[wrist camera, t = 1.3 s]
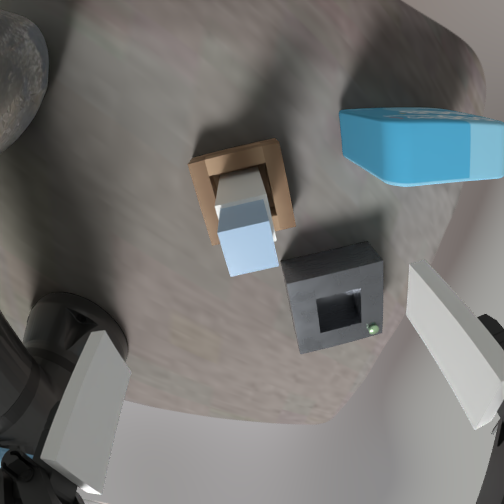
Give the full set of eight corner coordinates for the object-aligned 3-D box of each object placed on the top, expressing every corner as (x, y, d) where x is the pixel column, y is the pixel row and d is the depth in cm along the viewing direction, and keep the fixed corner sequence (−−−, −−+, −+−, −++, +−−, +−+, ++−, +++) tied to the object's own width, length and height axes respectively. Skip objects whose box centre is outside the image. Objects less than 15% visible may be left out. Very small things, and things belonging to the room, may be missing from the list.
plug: (229, 209, 31) (227, 281, 20) (220, 175, 30) (210, 229, 18) (265, 201, 31) (284, 268, 20) (257, 166, 30) (273, 214, 18)
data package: (436, 107, 28) (513, 124, 17) (437, 147, 30) (511, 178, 19) (334, 109, 28) (390, 120, 17) (338, 154, 30) (392, 189, 19)
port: (294, 329, 39) (300, 356, 35) (280, 261, 35) (287, 286, 31) (369, 310, 39) (383, 335, 35) (367, 241, 34) (384, 262, 30)
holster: (214, 232, 33) (212, 245, 30) (192, 158, 29) (187, 164, 27) (290, 215, 32) (295, 226, 30) (274, 138, 29) (279, 142, 26)
